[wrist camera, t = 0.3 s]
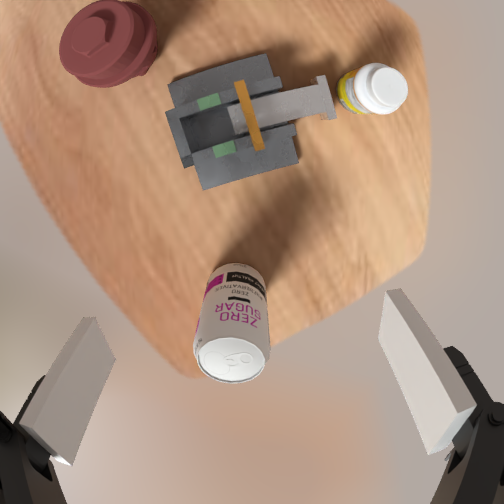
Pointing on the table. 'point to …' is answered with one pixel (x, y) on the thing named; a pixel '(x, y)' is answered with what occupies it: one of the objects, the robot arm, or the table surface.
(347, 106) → the supplement bottle
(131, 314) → the table surface
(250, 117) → the plunger
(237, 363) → the supplement can
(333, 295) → the table surface
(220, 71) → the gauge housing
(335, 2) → the table surface
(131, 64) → the mechanical component
